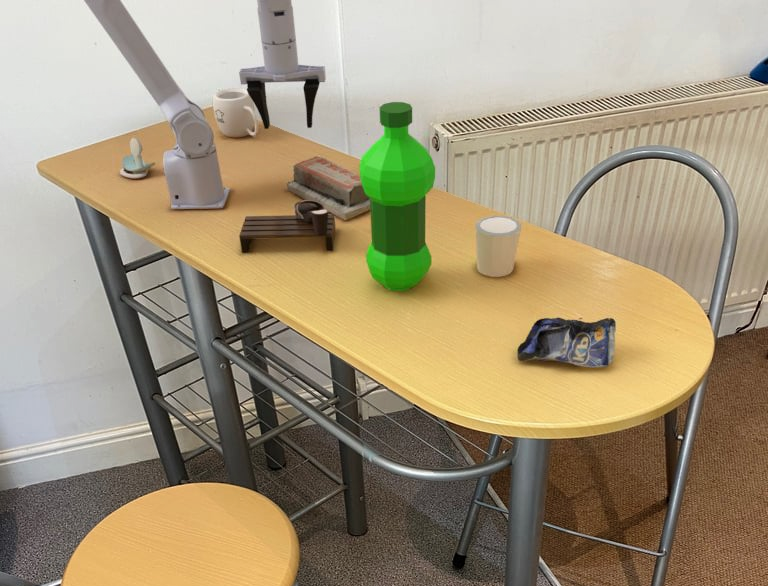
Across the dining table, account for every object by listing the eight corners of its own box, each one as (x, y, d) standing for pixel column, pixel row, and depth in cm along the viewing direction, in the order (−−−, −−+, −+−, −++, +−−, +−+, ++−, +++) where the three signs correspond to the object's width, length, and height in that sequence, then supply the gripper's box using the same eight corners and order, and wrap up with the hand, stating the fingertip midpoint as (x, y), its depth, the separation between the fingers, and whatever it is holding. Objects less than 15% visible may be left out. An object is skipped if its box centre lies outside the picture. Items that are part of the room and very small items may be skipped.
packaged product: (282, 164, 138) (325, 149, 143) (285, 191, 142) (327, 175, 146) (343, 194, 128) (388, 177, 133) (345, 222, 132) (389, 205, 136)
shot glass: (521, 260, 121) (525, 217, 116) (512, 281, 116) (516, 237, 111) (479, 254, 122) (481, 212, 117) (468, 275, 118) (470, 232, 113)
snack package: (563, 394, 96) (628, 359, 101) (563, 348, 92) (630, 314, 97) (500, 365, 105) (562, 333, 109) (497, 322, 101) (561, 291, 105)
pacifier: (137, 183, 147) (161, 172, 150) (127, 150, 142) (152, 139, 145) (114, 174, 150) (138, 163, 153) (103, 142, 145) (128, 131, 148)
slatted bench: (242, 252, 125) (239, 235, 123) (248, 233, 130) (245, 216, 128) (332, 251, 125) (331, 233, 123) (335, 231, 130) (334, 214, 128)
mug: (210, 134, 163) (202, 94, 158) (241, 123, 167) (235, 84, 162) (243, 148, 157) (237, 107, 151) (275, 136, 161) (270, 96, 155)
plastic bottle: (423, 262, 121) (425, 90, 103) (438, 296, 114) (442, 117, 96) (361, 269, 120) (352, 97, 102) (372, 303, 113) (364, 125, 95)
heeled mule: (315, 207, 130) (313, 184, 127) (338, 234, 122) (337, 210, 120) (290, 212, 128) (288, 190, 126) (312, 240, 121) (310, 216, 118)
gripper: (231, 48, 124) (245, 135, 134) (320, 45, 123) (327, 133, 133) (238, 35, 129) (250, 121, 139) (323, 33, 128) (330, 119, 138)
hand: (288, 126), depth 136 cm, fingers open, 7 cm apart
